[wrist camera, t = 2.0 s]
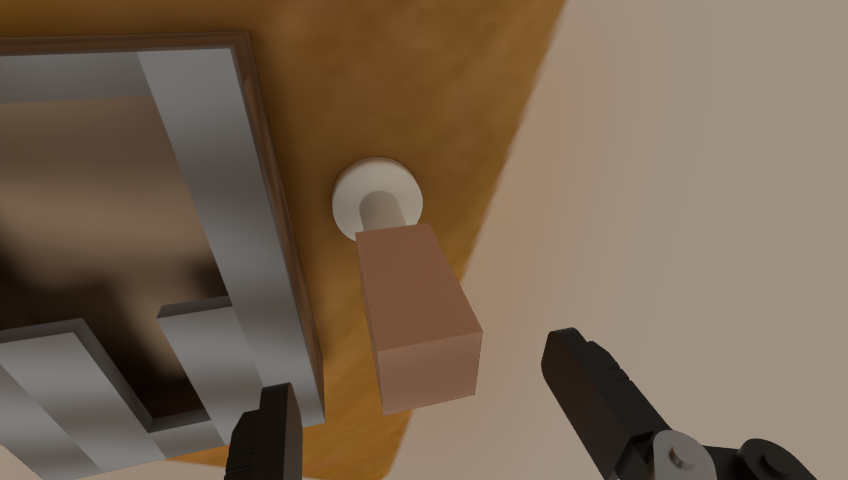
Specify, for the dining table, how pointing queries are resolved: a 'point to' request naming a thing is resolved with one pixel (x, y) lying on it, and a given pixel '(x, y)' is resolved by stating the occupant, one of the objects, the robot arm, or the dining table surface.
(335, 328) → the dining table surface
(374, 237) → the keyhole peg
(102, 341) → the keyhole plate
